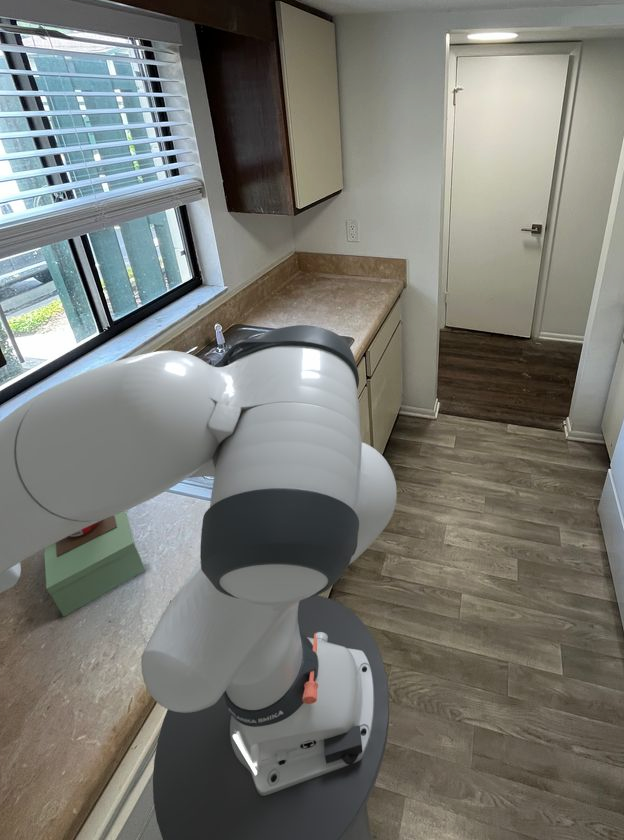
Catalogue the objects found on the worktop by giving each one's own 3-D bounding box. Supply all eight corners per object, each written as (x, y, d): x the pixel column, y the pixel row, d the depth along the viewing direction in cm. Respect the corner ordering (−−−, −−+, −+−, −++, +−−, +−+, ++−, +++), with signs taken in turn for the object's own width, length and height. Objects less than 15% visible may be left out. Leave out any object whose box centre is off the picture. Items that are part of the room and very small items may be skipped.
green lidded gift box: (145, 571, 90) (133, 541, 86) (63, 617, 83) (45, 587, 79) (127, 501, 106) (115, 473, 102) (56, 535, 98) (41, 506, 94)
